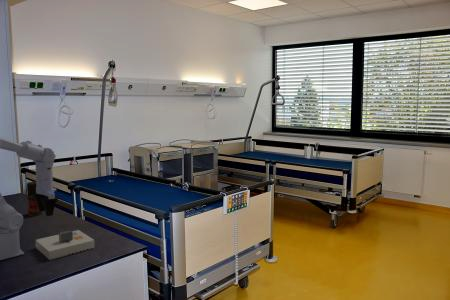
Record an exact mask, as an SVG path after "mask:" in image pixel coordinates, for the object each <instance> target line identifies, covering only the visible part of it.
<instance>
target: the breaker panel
mask: <svg viewBox="0 0 450 300" xmlns="http://www.w3.org/2000/svg"><path fill="white" fill-rule="evenodd" d="M71 231H72V230H71ZM72 233H73V240H69V241H65V242H60V241H59V234H56V235H51V236H50V235H49V236H47V237H46V236H45V237H42V238H37V239H35V249H37V250H38V251H39V252H40V253H41V254H42V255H44V256H45V258H46V259H48V260H49V261H51V260H54V259H58V258H59V259H60V258H62V257H66V256H69V254H70V255H73V254H77V253H80V251H81V252H83V251H84V250H85V251H88V250H91V248H92V249H95V248H94V247H95V239H93V238H92V237H90V236H89V235H88V234H86V233H84V232H82V231H81V230H80V229H76V230H73V231H72ZM87 249H88V250H87ZM85 251H84V252H85ZM76 252H77V253H76ZM72 253H73V254H72Z"/></svg>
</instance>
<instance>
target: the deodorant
mask: <svg viewBox="0 0 450 300" xmlns="http://www.w3.org/2000/svg"><path fill="white" fill-rule="evenodd" d="M26 193H27V196H26V197H27V214H28V216H30V217H36V216H42V215H43V211H41V212H40V211H39V208H38V205H37V202H36V199H35V198H34V196H33V194H36V181H29V182H27V183H26Z"/></svg>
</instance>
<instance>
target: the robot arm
mask: <svg viewBox="0 0 450 300" xmlns="http://www.w3.org/2000/svg"><path fill="white" fill-rule="evenodd" d="M0 149H1V150H5V151H9V152H14V153H16V155H17V157H19V158H22V159H27V160H29V161H33V162H34V163H35V182H36V194H33V196H34V198H35V199H36V202H37V205H38V208H39V211H40V212H41V211H42V212H45V213H44V214H45V215H46V217H51V216H53V215H54V211H55V207H56V204H57V202H58V200H59V197H58V196H56V194H55V192H56V191H57V188H55V187H54V178H53V177H54V176H53V174H54V173H53V172H54V171H53V168H54V167H53V166H54V161H55V159H56V155H57V154H55V152H54V150H53V149H52V148H51V147H50V148H49V147H43V145H42V144H38V145H37V144H33V143H32V141H30V140H26V141H22V142H20V143H19V142H15V141H14V140H10V139H6V138H3V137H2V136H0ZM23 223H24V216H23V214H21V213H20V212H18V211H17V210H16V209H15V208H14V207H13V206H12V205H10V204H9V203H8V202H7V201H6V199H5V198H4V196H3V195H2V193H1V192H0V261H2V260H6V259H9V258H14V257H19V256H22V255H25V252H24V251H23V250H22V249H21V244H20V229H21V227H22V225H23Z"/></svg>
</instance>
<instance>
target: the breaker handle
mask: <svg viewBox="0 0 450 300" xmlns="http://www.w3.org/2000/svg"><path fill="white" fill-rule="evenodd" d="M58 235H59V241H60V242H65V241H69V240H73V233H72V230H70V229H69V230H65V231H60V232H58Z"/></svg>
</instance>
